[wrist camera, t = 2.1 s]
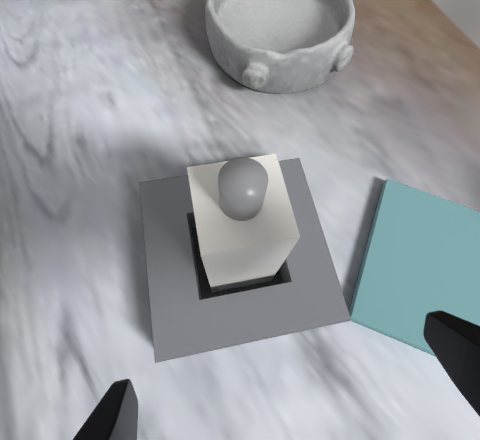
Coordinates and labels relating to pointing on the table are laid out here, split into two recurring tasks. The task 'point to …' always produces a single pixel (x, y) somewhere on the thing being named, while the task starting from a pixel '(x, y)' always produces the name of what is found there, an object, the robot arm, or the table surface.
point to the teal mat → (417, 264)
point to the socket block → (236, 304)
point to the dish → (280, 41)
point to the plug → (242, 220)
